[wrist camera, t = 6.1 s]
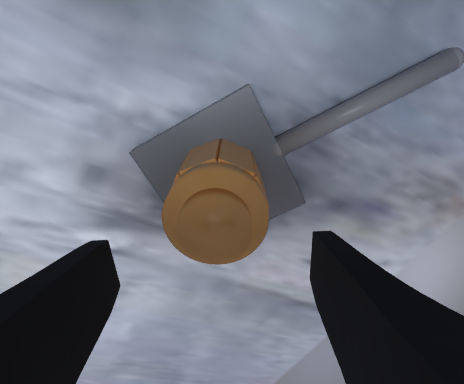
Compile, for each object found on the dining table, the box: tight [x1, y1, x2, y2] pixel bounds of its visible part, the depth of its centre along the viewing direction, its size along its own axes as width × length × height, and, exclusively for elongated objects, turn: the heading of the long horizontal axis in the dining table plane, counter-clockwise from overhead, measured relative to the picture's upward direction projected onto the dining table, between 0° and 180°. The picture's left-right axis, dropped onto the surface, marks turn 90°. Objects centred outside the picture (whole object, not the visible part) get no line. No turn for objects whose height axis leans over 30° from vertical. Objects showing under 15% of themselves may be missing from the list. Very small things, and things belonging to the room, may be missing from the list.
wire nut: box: [162, 138, 269, 264], centre depth 15 cm, size 5×5×6 cm
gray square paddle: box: [129, 48, 464, 219], centre depth 15 cm, size 19×8×4 cm, turn 118°
